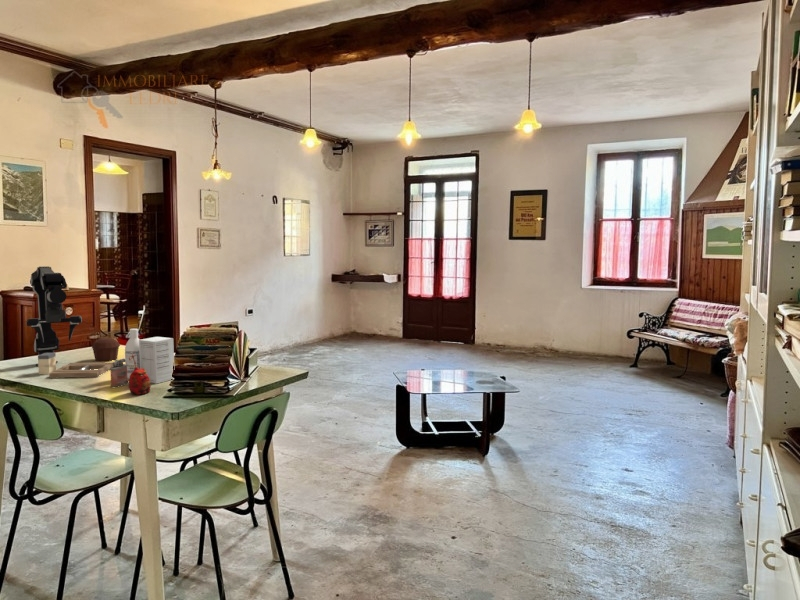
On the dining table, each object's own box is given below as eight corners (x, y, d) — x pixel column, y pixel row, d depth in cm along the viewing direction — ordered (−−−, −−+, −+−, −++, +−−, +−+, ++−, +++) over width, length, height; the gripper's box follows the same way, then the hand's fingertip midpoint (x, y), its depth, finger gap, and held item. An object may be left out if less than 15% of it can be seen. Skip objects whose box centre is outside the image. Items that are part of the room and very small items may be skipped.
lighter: (116, 388, 206) (115, 362, 205) (108, 387, 207) (107, 361, 206) (130, 382, 214) (129, 357, 213) (123, 382, 214) (122, 357, 213)
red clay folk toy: (141, 396, 196) (140, 355, 194) (124, 395, 197) (122, 354, 195) (154, 390, 203) (153, 351, 202) (137, 389, 204) (136, 350, 203)
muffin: (88, 362, 247) (87, 341, 246) (96, 357, 258) (95, 336, 257) (117, 361, 250) (116, 340, 249) (123, 357, 261) (122, 336, 260)
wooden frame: (70, 367, 238) (70, 362, 237) (114, 366, 240) (114, 362, 240) (49, 378, 219) (49, 373, 219) (97, 377, 222) (97, 372, 221)
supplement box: (175, 379, 221) (174, 338, 219) (156, 384, 213) (155, 341, 211) (158, 376, 225) (157, 335, 223) (139, 381, 217) (138, 339, 215)
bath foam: (144, 378, 221) (143, 329, 219) (125, 380, 218) (124, 330, 216) (144, 374, 227) (143, 327, 225) (126, 376, 224) (124, 328, 222)
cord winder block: (46, 371, 230) (45, 352, 229) (56, 371, 231) (55, 352, 230) (38, 374, 224) (37, 355, 223) (49, 374, 225) (48, 355, 224)
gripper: (23, 305, 210) (26, 345, 211) (79, 302, 219) (81, 341, 219) (27, 305, 220) (30, 343, 221) (80, 302, 229) (83, 339, 229)
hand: (56, 342), depth 222 cm, fingers open, 9 cm apart
